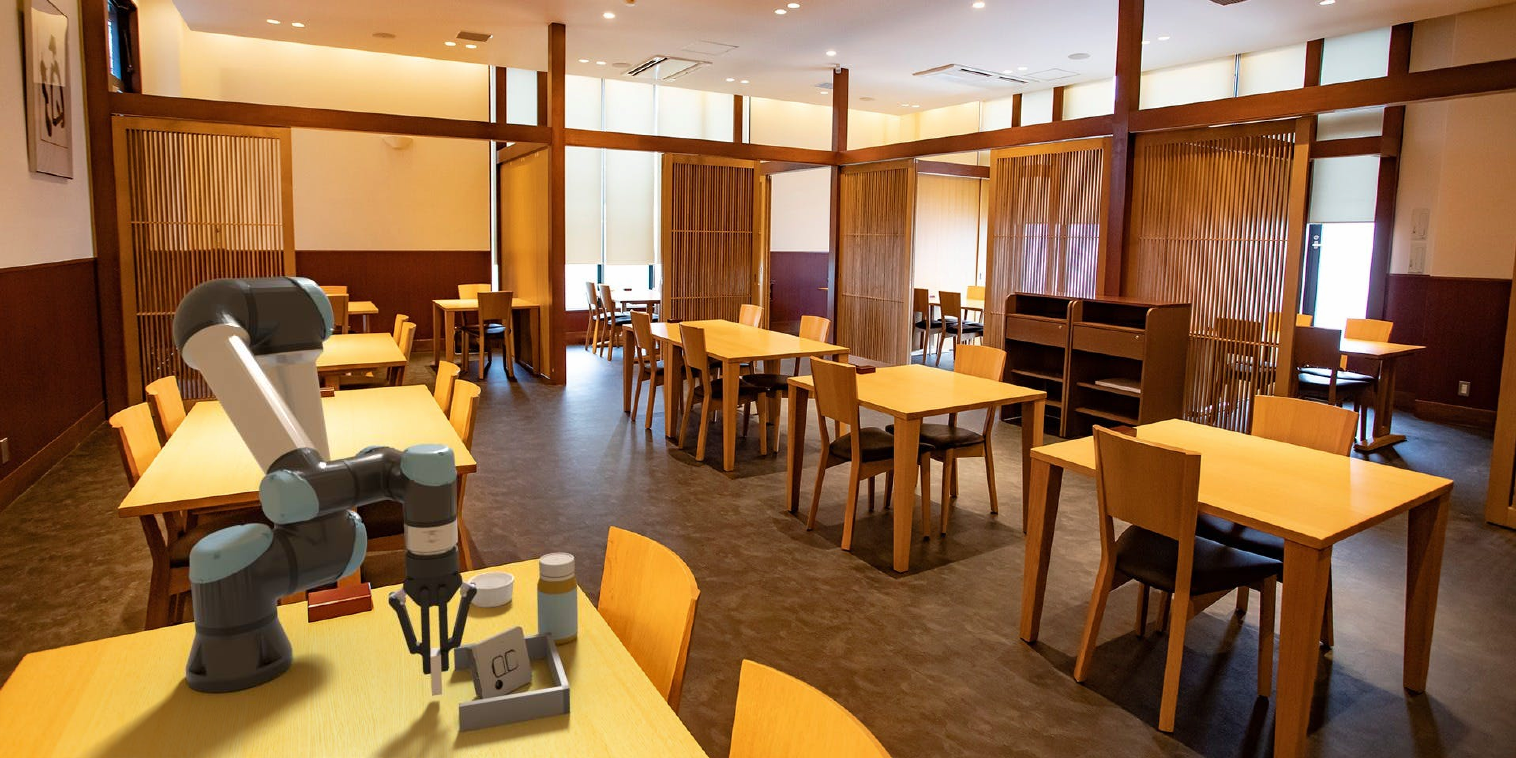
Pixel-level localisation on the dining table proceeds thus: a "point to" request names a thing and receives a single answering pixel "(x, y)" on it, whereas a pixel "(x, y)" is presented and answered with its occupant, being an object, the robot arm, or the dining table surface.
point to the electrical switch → (500, 663)
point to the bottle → (557, 597)
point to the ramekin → (492, 589)
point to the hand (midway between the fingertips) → (436, 690)
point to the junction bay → (520, 703)
